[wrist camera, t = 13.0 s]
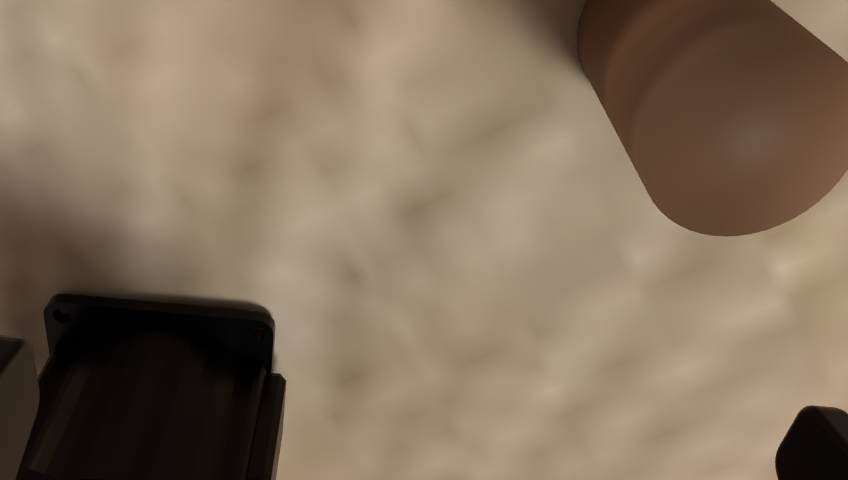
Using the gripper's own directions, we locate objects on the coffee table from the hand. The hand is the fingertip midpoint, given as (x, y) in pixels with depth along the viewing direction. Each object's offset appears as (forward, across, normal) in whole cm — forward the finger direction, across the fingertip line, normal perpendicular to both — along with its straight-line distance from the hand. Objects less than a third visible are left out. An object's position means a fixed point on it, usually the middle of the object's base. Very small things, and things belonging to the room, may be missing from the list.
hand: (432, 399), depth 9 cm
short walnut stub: (+12, -6, -1) cm, 13 cm away
